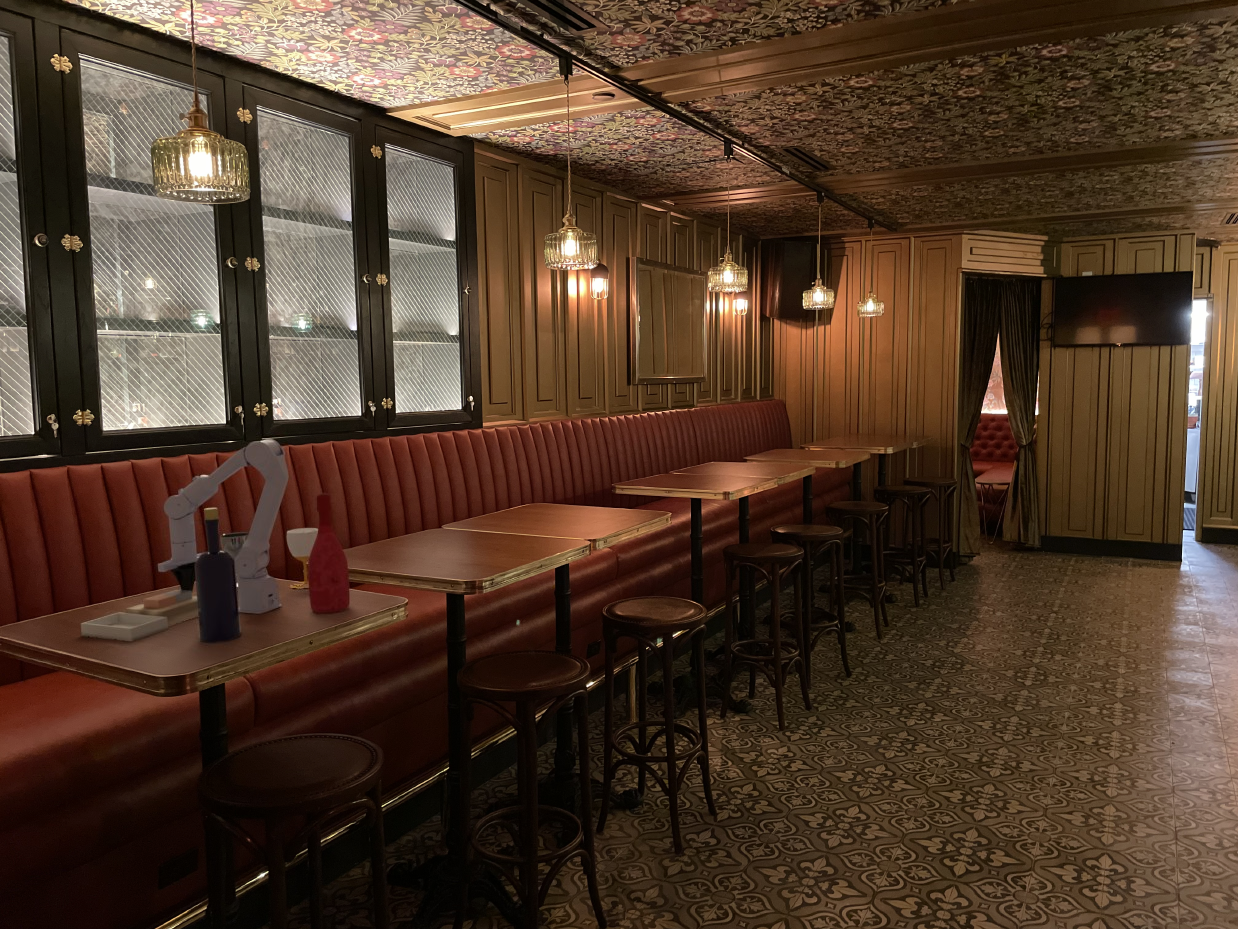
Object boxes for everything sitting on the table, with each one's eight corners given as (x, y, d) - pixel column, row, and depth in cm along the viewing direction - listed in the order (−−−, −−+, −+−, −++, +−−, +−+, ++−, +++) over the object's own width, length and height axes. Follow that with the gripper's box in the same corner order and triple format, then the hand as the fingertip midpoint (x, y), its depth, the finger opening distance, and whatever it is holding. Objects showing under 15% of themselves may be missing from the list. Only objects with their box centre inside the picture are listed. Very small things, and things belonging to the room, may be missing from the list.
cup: (294, 591, 243) (290, 534, 242) (285, 585, 251) (281, 530, 249) (327, 585, 249) (323, 530, 247) (317, 580, 256) (313, 526, 254)
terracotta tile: (175, 603, 217) (175, 595, 217) (158, 608, 212) (158, 600, 212) (161, 602, 219) (160, 594, 218) (143, 607, 214) (143, 599, 214)
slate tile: (192, 598, 221) (191, 590, 221) (175, 603, 217) (175, 595, 217) (177, 597, 223) (176, 589, 223) (161, 602, 219) (160, 594, 218)
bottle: (211, 631, 205) (201, 506, 202) (249, 630, 205) (240, 505, 202) (190, 643, 196) (180, 512, 193) (231, 642, 196) (220, 511, 193)
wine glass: (242, 589, 248) (238, 537, 246) (218, 588, 249) (214, 537, 248) (259, 582, 255) (256, 532, 254) (235, 582, 257) (231, 532, 255)
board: (209, 612, 222) (208, 597, 222) (163, 628, 209) (162, 611, 209) (174, 609, 227) (173, 594, 226) (127, 624, 214) (126, 608, 213)
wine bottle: (301, 613, 220) (293, 495, 216) (328, 603, 229) (321, 490, 226) (332, 616, 216) (325, 496, 213) (358, 606, 225) (351, 491, 222)
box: (168, 629, 208) (167, 617, 208) (131, 641, 199) (130, 628, 199) (119, 624, 214) (118, 612, 214) (81, 635, 205) (80, 623, 204)
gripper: (194, 535, 230) (198, 585, 231) (147, 546, 217) (151, 599, 218) (214, 536, 227) (218, 587, 229) (168, 547, 214) (172, 601, 215)
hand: (187, 593), depth 223 cm, fingers closed
